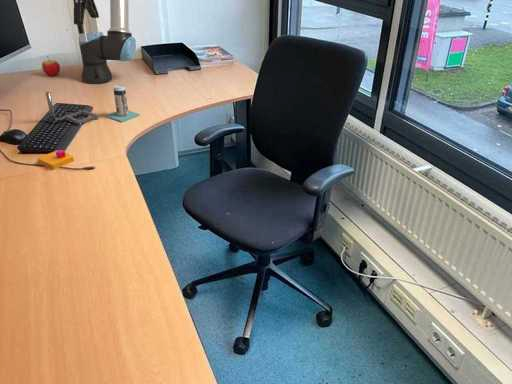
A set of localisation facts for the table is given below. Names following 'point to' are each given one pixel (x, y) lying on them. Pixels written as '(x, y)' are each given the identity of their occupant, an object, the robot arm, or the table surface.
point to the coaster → (122, 118)
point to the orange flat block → (55, 159)
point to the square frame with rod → (51, 109)
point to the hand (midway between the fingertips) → (90, 37)
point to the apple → (51, 67)
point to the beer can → (120, 100)
